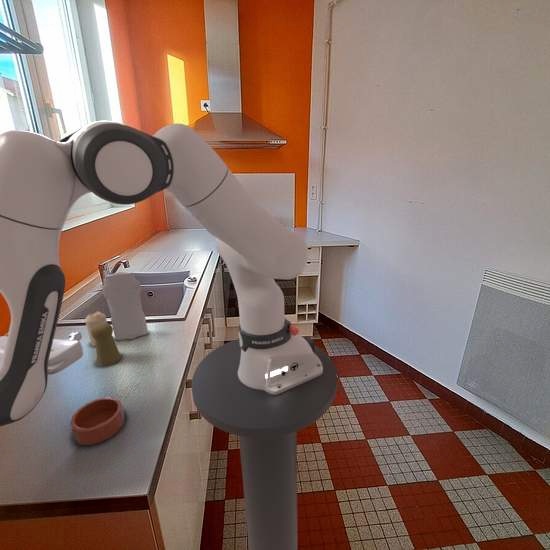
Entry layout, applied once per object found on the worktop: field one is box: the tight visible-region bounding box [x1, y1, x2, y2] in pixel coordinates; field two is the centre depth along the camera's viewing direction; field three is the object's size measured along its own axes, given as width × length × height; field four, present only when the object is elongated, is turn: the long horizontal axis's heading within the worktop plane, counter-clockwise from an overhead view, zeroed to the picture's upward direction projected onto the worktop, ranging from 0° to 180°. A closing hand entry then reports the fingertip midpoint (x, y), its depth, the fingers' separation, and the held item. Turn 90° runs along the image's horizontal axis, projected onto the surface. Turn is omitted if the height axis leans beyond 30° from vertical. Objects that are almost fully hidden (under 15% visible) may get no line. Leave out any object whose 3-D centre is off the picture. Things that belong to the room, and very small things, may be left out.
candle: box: [84, 311, 108, 347], centre depth 94 cm, size 6×6×10 cm
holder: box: [69, 396, 125, 446], centre depth 63 cm, size 9×9×4 cm
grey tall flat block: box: [101, 271, 149, 341], centre depth 95 cm, size 11×4×22 cm, turn 111°
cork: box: [91, 322, 122, 367], centre depth 84 cm, size 6×6×11 cm
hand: (60, 333), depth 69 cm, fingers open, 8 cm apart
